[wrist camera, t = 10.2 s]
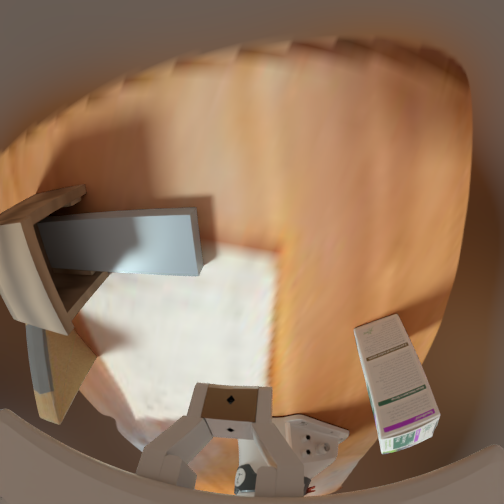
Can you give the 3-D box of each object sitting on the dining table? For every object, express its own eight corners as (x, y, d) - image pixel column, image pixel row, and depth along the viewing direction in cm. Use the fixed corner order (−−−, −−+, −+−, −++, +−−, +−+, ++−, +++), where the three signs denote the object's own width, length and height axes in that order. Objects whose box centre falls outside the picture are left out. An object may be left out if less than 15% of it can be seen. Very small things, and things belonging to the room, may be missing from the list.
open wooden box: (91, 182, 23) (20, 222, 14) (115, 276, 28) (68, 335, 19) (35, 194, 24) (-25, 229, 15) (59, 272, 29) (13, 319, 20)
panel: (197, 205, 24) (190, 215, 22) (204, 263, 27) (198, 276, 25) (49, 215, 26) (37, 223, 24) (62, 258, 29) (51, 267, 27)
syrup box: (351, 327, 29) (376, 442, 16) (398, 310, 27) (442, 418, 14) (359, 356, 31) (379, 457, 18) (401, 341, 29) (434, 437, 17)
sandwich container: (41, 284, 31) (-17, 348, 18) (98, 356, 37) (60, 425, 24) (23, 296, 33) (-25, 351, 20) (74, 359, 40) (40, 418, 26)
